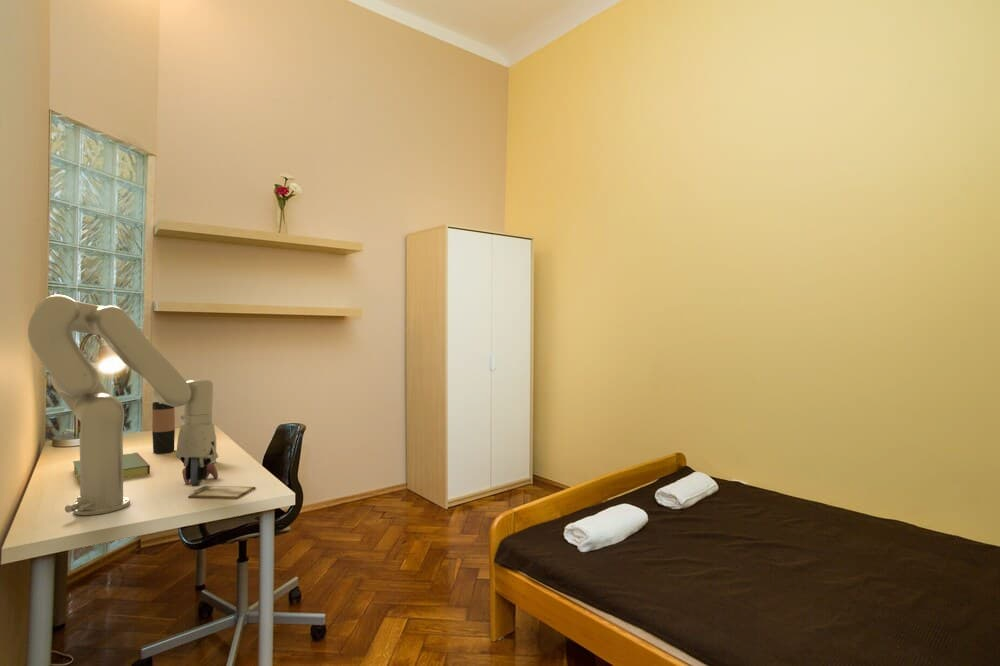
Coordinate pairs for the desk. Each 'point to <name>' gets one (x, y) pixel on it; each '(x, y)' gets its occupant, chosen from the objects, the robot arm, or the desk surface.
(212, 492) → the clipboard
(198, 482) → the marker
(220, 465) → the desk surface
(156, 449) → the travel mug
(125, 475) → the hardcover book
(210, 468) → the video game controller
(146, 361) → the robot arm
